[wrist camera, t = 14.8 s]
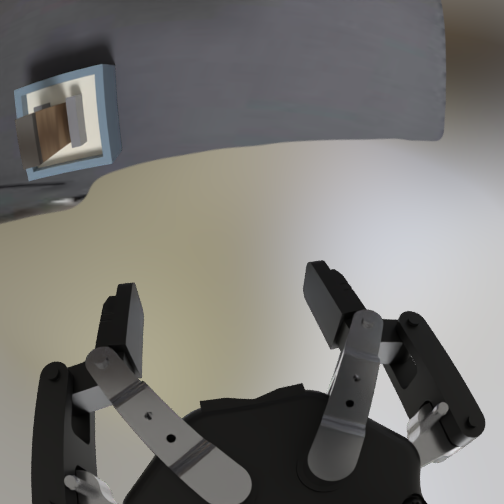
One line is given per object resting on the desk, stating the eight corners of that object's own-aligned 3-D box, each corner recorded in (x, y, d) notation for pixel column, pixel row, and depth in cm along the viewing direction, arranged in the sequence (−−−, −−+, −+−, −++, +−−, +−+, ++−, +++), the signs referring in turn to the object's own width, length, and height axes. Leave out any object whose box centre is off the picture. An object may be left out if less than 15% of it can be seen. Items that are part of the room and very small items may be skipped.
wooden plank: (54, 105, 26) (14, 119, 18) (68, 101, 26) (31, 113, 18) (59, 143, 29) (23, 169, 21) (73, 140, 29) (40, 165, 21)
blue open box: (36, 86, 27) (10, 91, 21) (115, 65, 29) (100, 63, 23) (47, 165, 34) (25, 183, 28) (122, 150, 36) (110, 166, 30)
